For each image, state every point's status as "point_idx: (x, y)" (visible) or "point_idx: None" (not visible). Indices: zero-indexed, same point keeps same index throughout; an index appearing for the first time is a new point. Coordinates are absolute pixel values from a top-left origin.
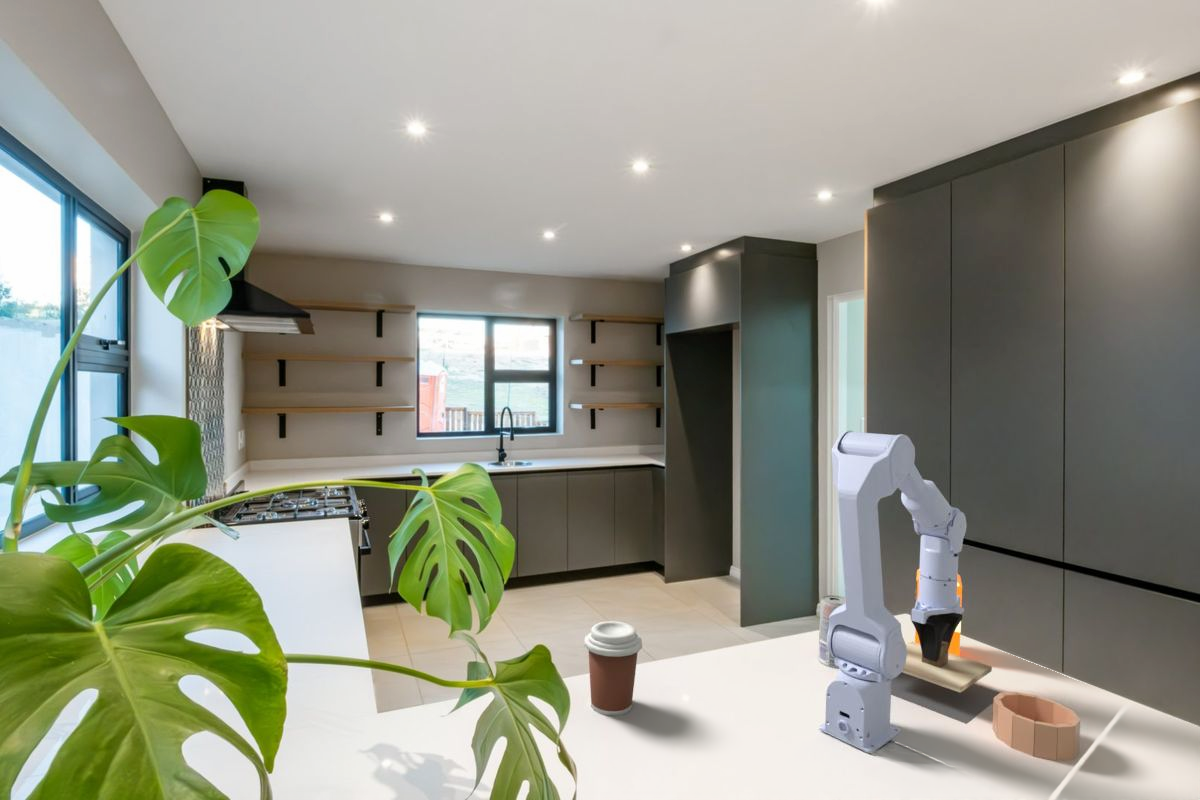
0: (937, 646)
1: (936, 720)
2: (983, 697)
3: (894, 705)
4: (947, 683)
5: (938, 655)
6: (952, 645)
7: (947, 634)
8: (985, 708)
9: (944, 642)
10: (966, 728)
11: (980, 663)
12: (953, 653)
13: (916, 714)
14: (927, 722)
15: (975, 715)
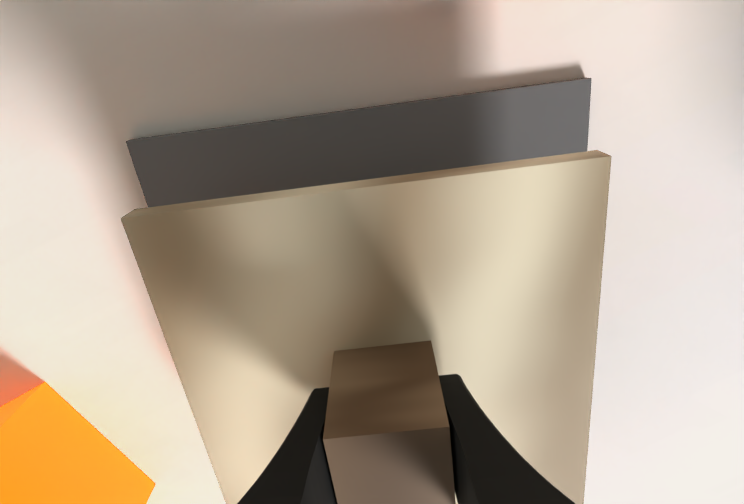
0: (502, 435)
1: (629, 172)
2: (262, 170)
3: (629, 314)
4: (604, 224)
5: (455, 391)
6: (12, 458)
7: (311, 497)
8: (362, 109)
9: (343, 452)
10: (604, 66)
11: (149, 271)
12: (33, 427)
13: (639, 238)
14: (676, 181)
15: (475, 96)
